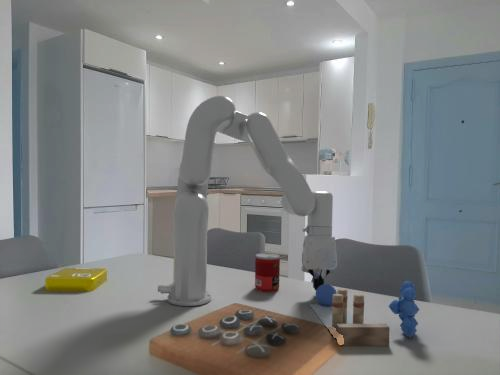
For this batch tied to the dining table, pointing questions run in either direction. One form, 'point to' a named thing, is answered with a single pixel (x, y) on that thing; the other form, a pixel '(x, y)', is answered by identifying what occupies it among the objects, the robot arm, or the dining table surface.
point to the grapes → (406, 308)
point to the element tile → (76, 279)
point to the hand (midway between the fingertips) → (318, 290)
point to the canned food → (267, 272)
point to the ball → (325, 294)
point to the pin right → (358, 309)
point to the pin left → (337, 310)
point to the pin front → (344, 303)
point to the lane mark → (328, 314)
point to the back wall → (364, 334)
